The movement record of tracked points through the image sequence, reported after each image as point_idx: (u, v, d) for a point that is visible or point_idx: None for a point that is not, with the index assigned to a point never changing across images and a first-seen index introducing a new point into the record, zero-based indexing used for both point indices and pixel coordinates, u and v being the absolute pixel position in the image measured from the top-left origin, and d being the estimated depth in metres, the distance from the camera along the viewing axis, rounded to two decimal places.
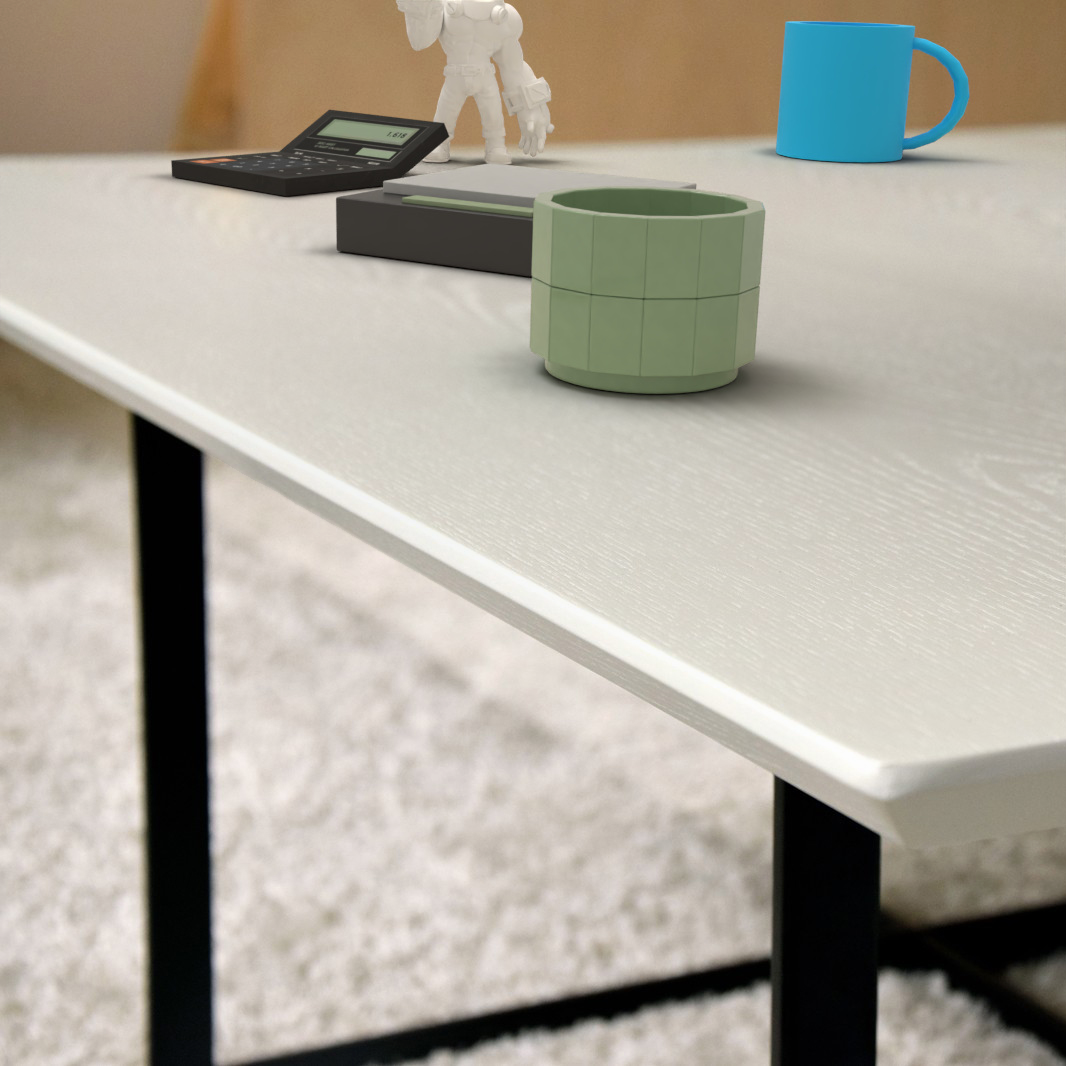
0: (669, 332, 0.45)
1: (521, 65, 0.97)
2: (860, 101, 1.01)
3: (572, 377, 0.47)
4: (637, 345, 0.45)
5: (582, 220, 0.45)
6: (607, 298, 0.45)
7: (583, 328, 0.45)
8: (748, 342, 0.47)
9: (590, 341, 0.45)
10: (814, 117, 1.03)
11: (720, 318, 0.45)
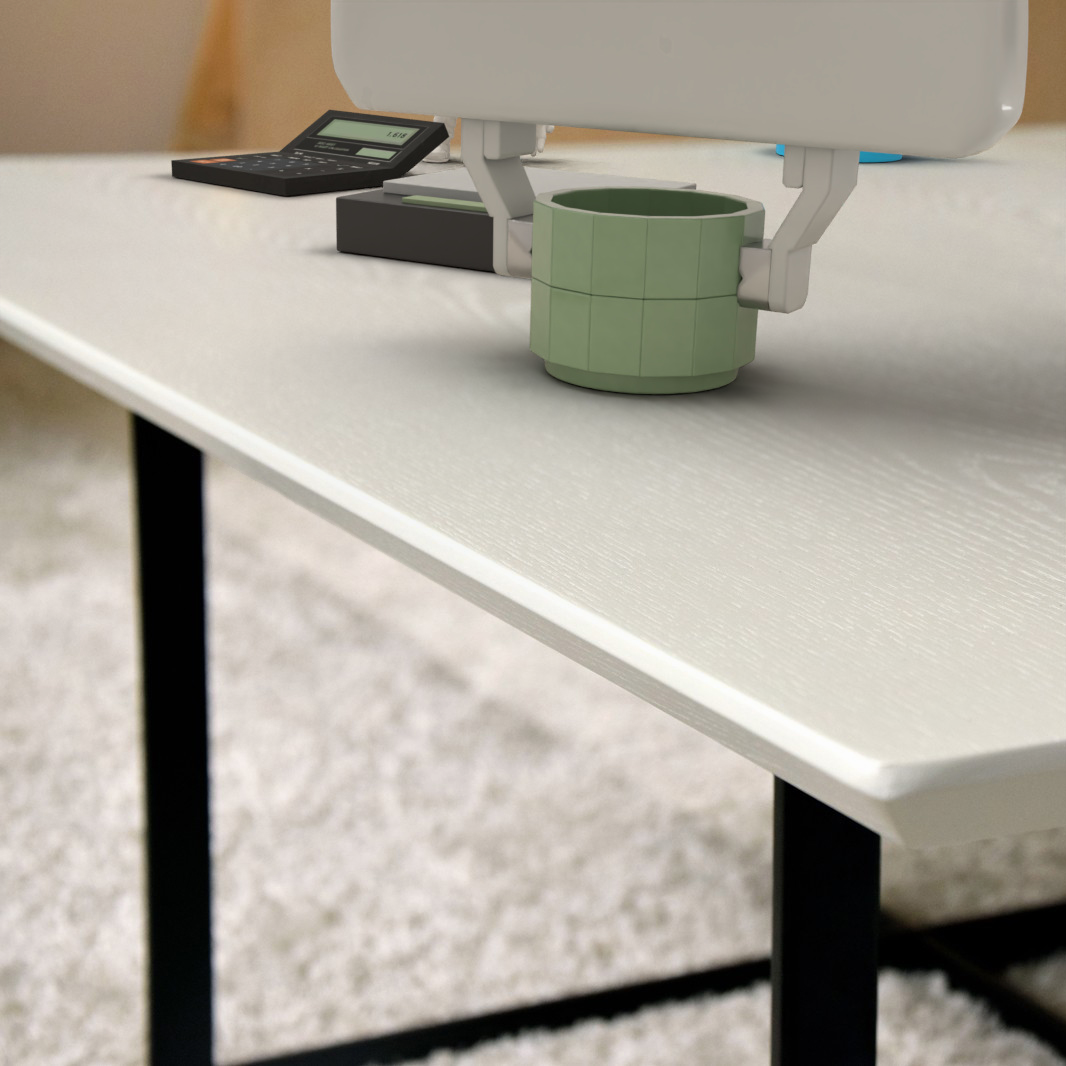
0: (669, 332, 0.45)
1: None
2: None
3: (572, 377, 0.47)
4: (637, 345, 0.45)
5: (582, 220, 0.45)
6: (607, 298, 0.45)
7: (583, 328, 0.45)
8: (747, 342, 0.47)
9: (590, 341, 0.45)
10: None
11: (720, 318, 0.45)
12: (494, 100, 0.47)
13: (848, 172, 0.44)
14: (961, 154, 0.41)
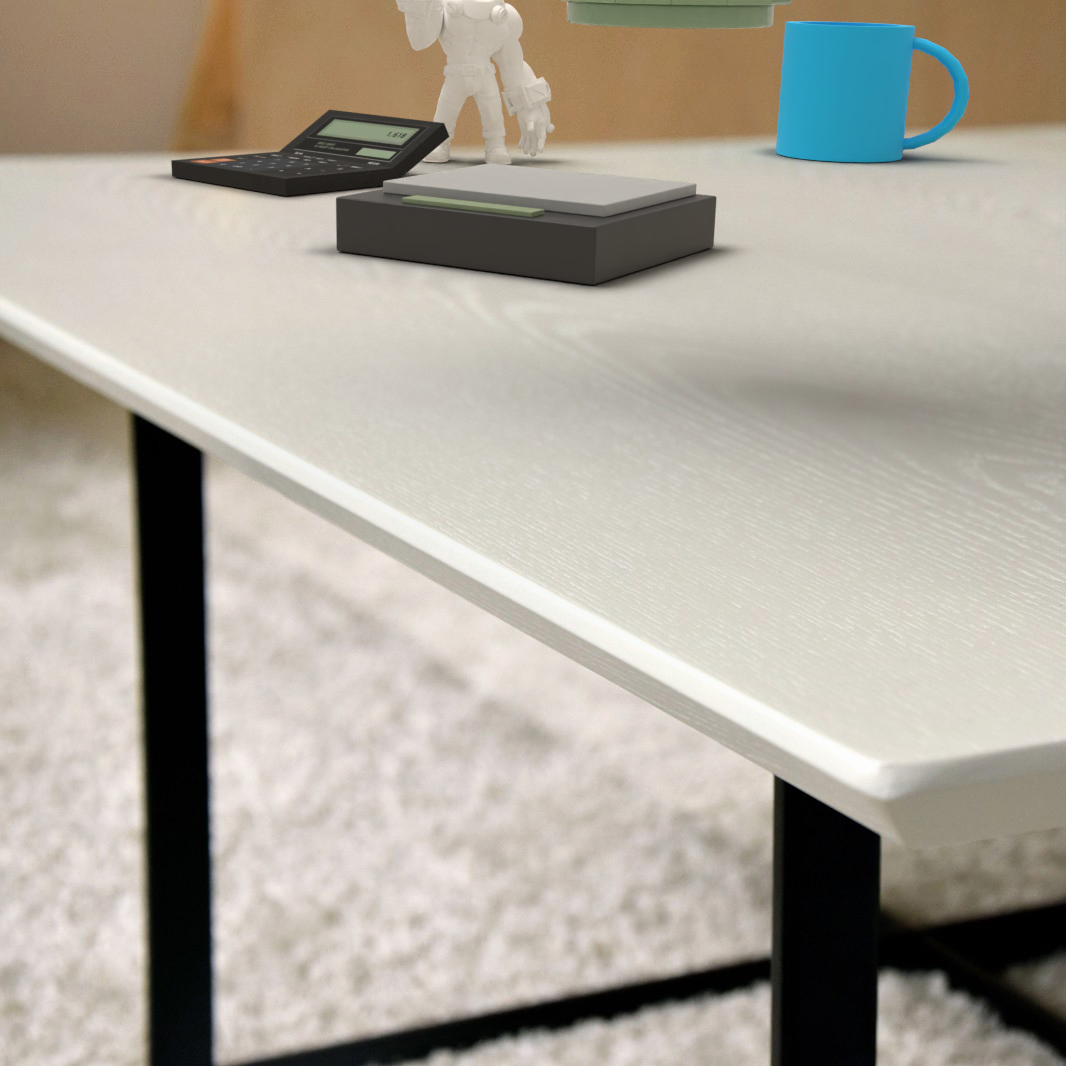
0: None
1: (521, 65, 0.97)
2: (860, 101, 1.01)
3: (597, 17, 0.44)
4: None
5: None
6: None
7: None
8: None
9: None
10: (814, 117, 1.03)
11: None
12: None
13: None
14: None
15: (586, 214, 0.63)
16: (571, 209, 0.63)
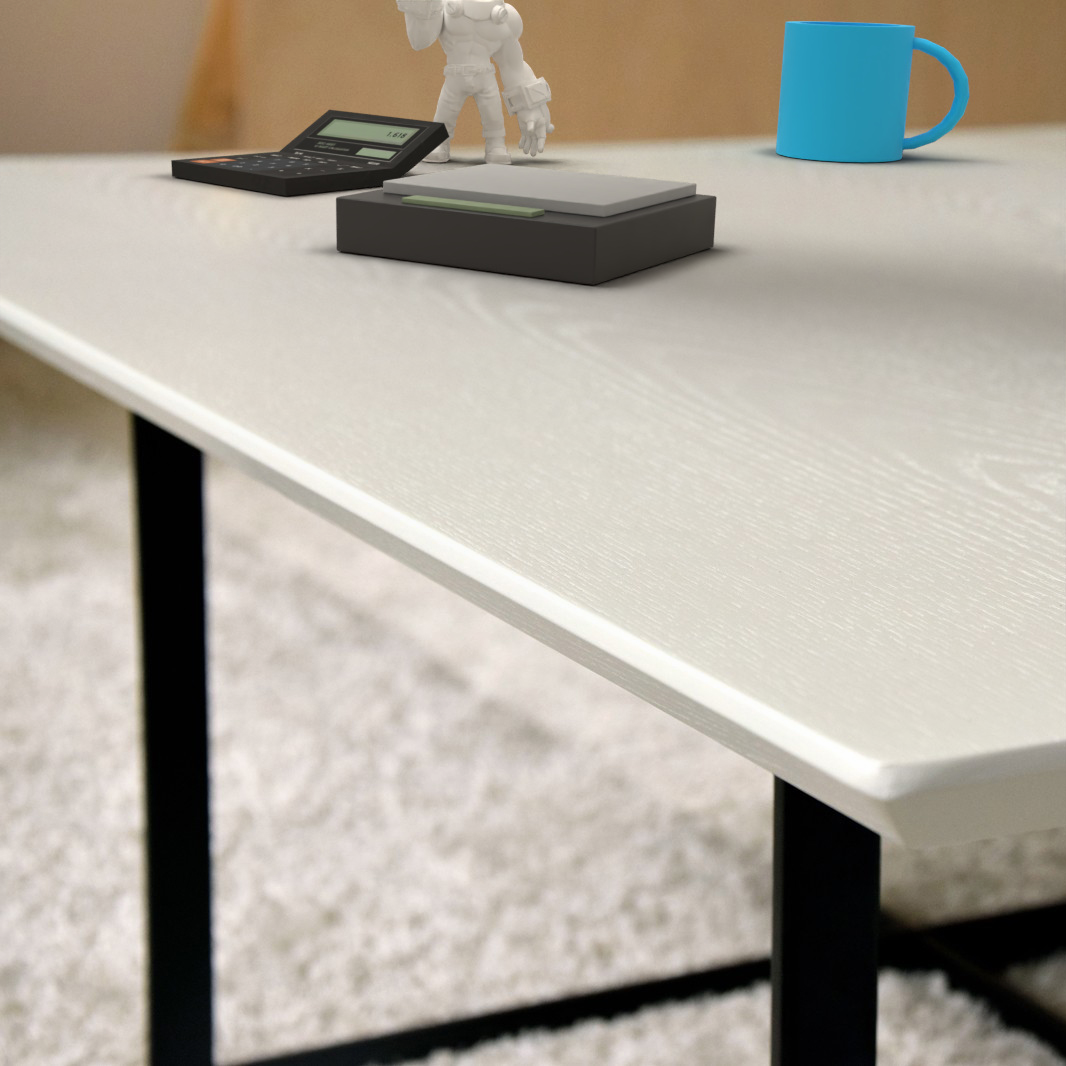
0: None
1: (521, 65, 0.97)
2: (860, 101, 1.01)
3: None
4: None
5: None
6: None
7: None
8: None
9: None
10: (814, 117, 1.03)
11: None
12: None
13: None
14: None
15: (586, 214, 0.63)
16: (571, 209, 0.63)
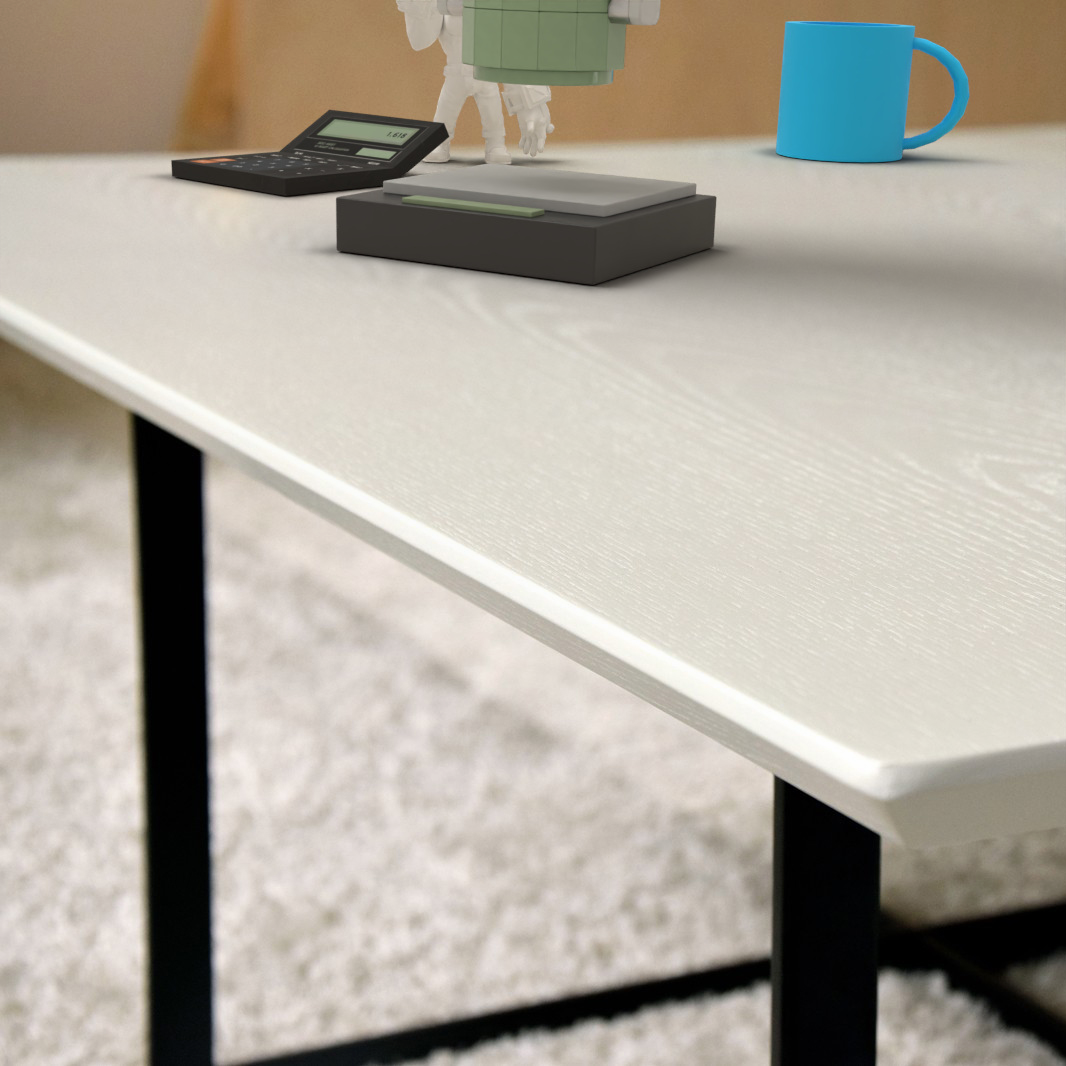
0: (558, 36, 0.63)
1: None
2: (860, 101, 1.01)
3: (491, 77, 0.65)
4: (535, 46, 0.63)
5: None
6: (513, 12, 0.63)
7: (497, 35, 0.64)
8: (617, 52, 0.65)
9: (502, 45, 0.64)
10: (814, 117, 1.03)
11: (595, 29, 0.64)
12: None
13: None
14: None
15: (586, 214, 0.63)
16: (571, 209, 0.63)
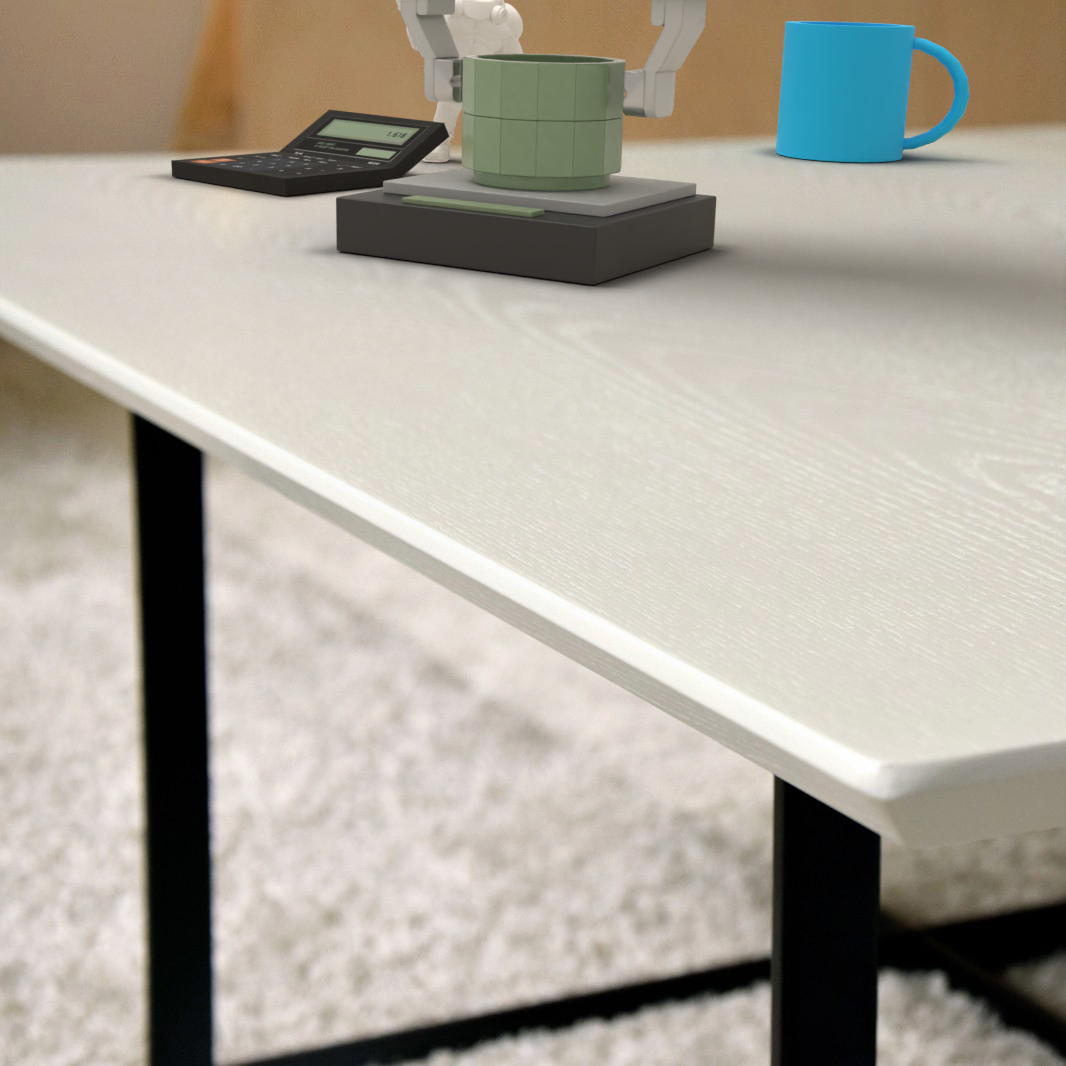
0: (555, 145, 0.65)
1: None
2: (860, 101, 1.01)
3: (490, 181, 0.66)
4: (533, 154, 0.65)
5: (494, 66, 0.64)
6: (512, 121, 0.65)
7: (496, 143, 0.65)
8: (614, 157, 0.66)
9: (501, 152, 0.65)
10: (814, 117, 1.03)
11: (592, 136, 0.65)
12: None
13: (697, 16, 0.63)
14: None
15: (586, 214, 0.63)
16: (571, 209, 0.63)
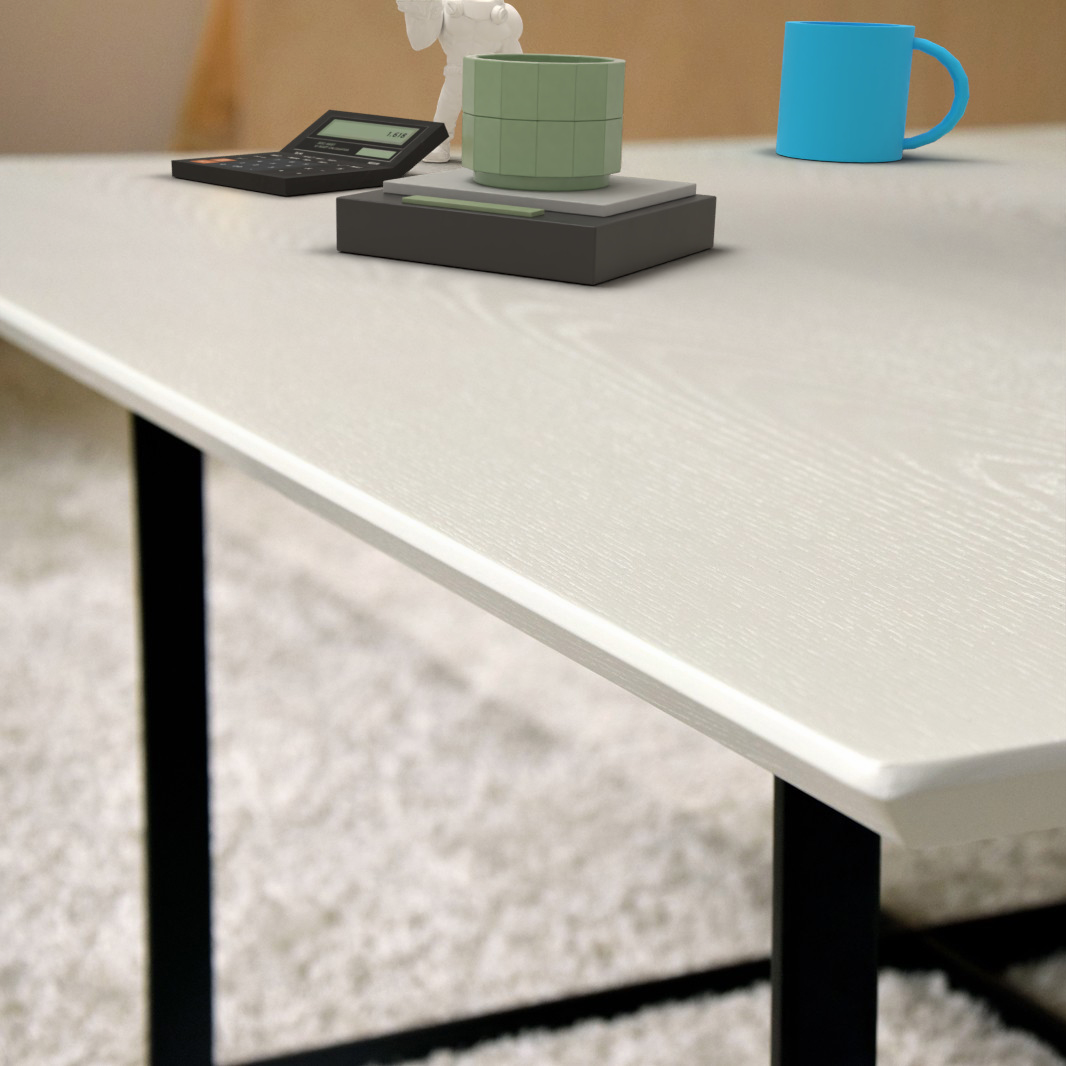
0: (555, 145, 0.65)
1: None
2: (860, 101, 1.01)
3: (490, 181, 0.66)
4: (533, 154, 0.65)
5: (494, 66, 0.64)
6: (512, 121, 0.65)
7: (496, 143, 0.65)
8: (614, 157, 0.66)
9: (501, 152, 0.65)
10: (814, 117, 1.03)
11: (592, 136, 0.65)
12: None
13: None
14: None
15: (586, 214, 0.63)
16: (571, 209, 0.63)
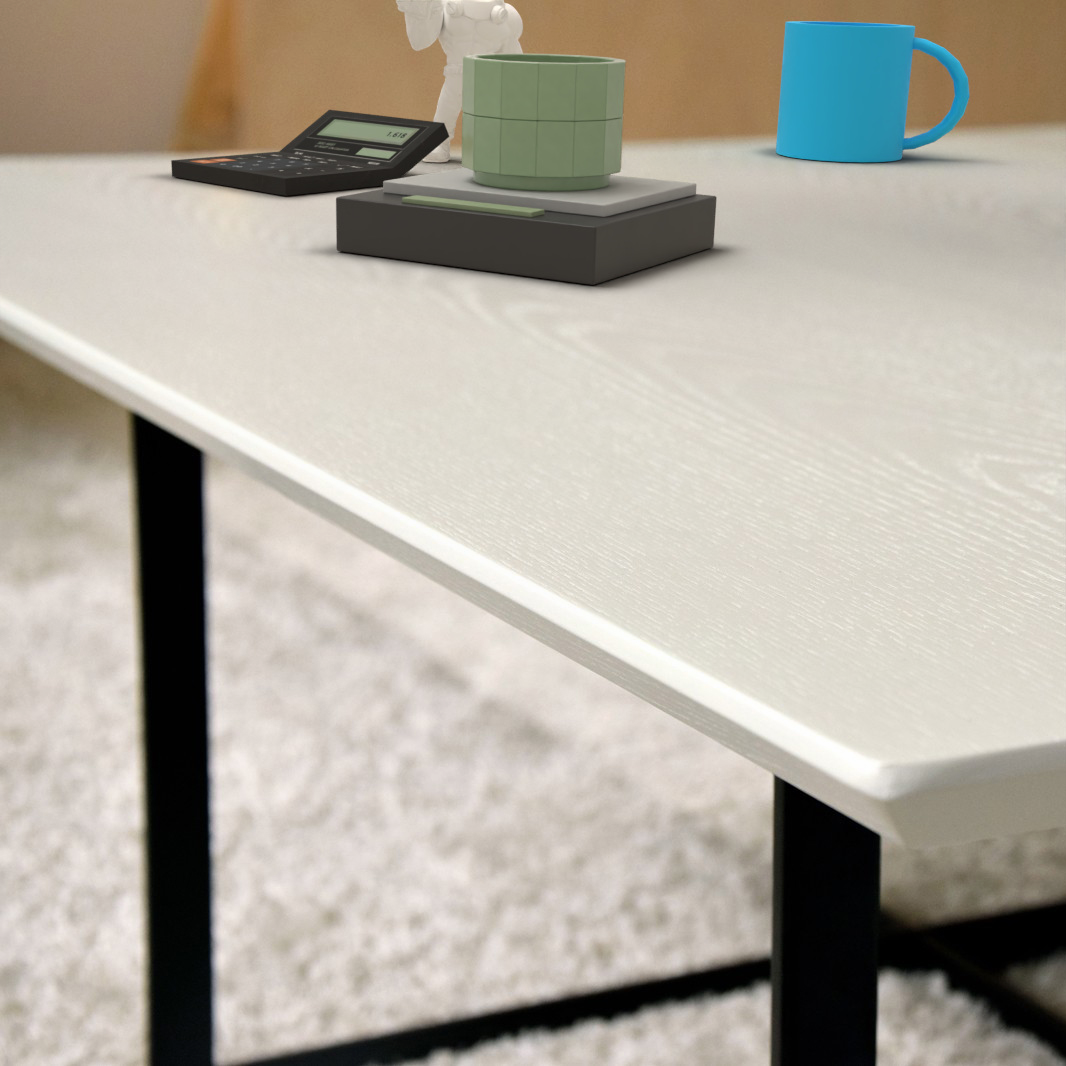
0: (555, 145, 0.65)
1: None
2: (860, 101, 1.01)
3: (490, 181, 0.66)
4: (533, 154, 0.65)
5: (494, 66, 0.64)
6: (512, 121, 0.65)
7: (496, 143, 0.65)
8: (614, 157, 0.66)
9: (501, 152, 0.65)
10: (814, 117, 1.03)
11: (592, 136, 0.65)
12: None
13: None
14: None
15: (586, 214, 0.63)
16: (571, 209, 0.63)
